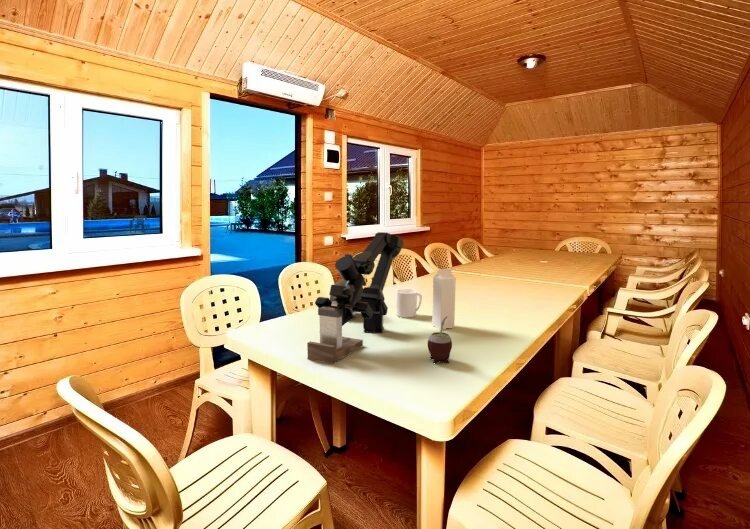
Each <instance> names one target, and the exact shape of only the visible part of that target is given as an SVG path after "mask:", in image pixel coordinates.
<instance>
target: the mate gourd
mask: <svg viewBox="0 0 750 529" xmlns="http://www.w3.org/2000/svg"><path fill="white" fill-rule="evenodd" d="M446 318H447V317H445V318H444V319H443V321H442V323H441V330H440V329H439V331H437V332H433V333H431V334H430V335H429V337H428V339H427V349H428V353H429V354H430V357H429V359H430V358H431V359H434V360H433V361H432V364H433V363H437V362H439V361H442V362H441V363H443V362H446V363H449V364H450V361H449V359H450V356H451V352H452V349H453V348H452V347H453V342H452V337H451V336H450V334H449V333H446V332H443V325H444V321H445V320H446ZM431 359H430V360H431ZM439 363H440V362H439ZM446 363H445V364H446ZM437 364H438V363H437Z"/></svg>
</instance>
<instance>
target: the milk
mask: <svg viewBox="0 0 750 529" xmlns="http://www.w3.org/2000/svg"><path fill="white" fill-rule="evenodd" d="M432 278H433V279H432V282H433V284H432V324H431V325H433V326H432V327H434V326H435V327H434V328H436V327H437V328H436V329H438V328H439V329H438V330H440V329H441V323H442V321H443V319H444V318H445V317H447V318H446V320H445V321H444V325H443V329H444V330H447V329H446V328H452V327H454V328H455V319H456V318H455V316H456V315H455V314H456V313H455V312H456V286H457V285H456V281H457V280H456V276H455V275H454V274H453V272H452V268H439V269H437V273H436V274H435V275H434V276H433V277H432ZM452 329H453V328H452Z"/></svg>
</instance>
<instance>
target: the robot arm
mask: <svg viewBox="0 0 750 529" xmlns="http://www.w3.org/2000/svg"><path fill="white" fill-rule="evenodd" d="M403 247H404V240H403V239H402V237H401V236H399V235H394V234H391V233H389V232H385V231H384V232H380V231H379V232H376V233H375V234H374V238H373V239H372V240H371V241H370V242H369V244H368V245H367V246H366V248H365V249H364V251H362V252H359V253H357V254H355V255H354V256H353V255H352V254H351V253H350V254H348V253H345V254H344V256H342V257H339V258H338V260H336V261H335V264H334V268H335V269H336V271H337V272H338V274H339V276H340V277H341V280H345V281H346V282H345V284H344V286H340V285H334V284H331V285H330V290H329V296H330V295H332V296H334V300H335V301H337V302H333V301H332V302H331V301H330V297H324V296H318V297H316V299H315V302H314V304H315V306H316V307H317V309H318V308H321V307H331V308H339V309H343V316H342V327H343V326H344V325H345V324H347V323H348V322H350V321H351V320H354V319H355V317H356V316H355V314H356V313H360V314H361V316H362V318H363V319H362V321H363V322H362V323H363V332H364V333H378V334H380V333H383V330H384V328H385V326H384V316H387V314H388V308H389V307H388V305H387V304H386V302H385V296H384V292H383V291H384V288H385V284H386V282H387V278H388V276H389V272H390V271H391V270H390V269H391V267H392V263H393V261H394V259H395V258H396V257H397V256H398V255H400V252H401V251H402V249H403ZM379 255H380V256H379ZM378 256H379V259H378V262H377V265H376V266H375V260H377V258H378ZM375 267H376V268H375ZM374 268H375V271H374ZM373 271H374V274H373V276H372V279H371V283H370V285H369V286H367V282H366V278H365V277H364V275H367V276H369V275H371V274H372V272H373ZM366 286H367V287H366ZM362 287H363V292H362V294H361V296H359V293H360V291H361V288H362ZM360 297H361V298H360ZM359 299H360V300H359ZM357 300H359V301H358V302H356V301H357ZM355 303H356V304H355Z"/></svg>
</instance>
